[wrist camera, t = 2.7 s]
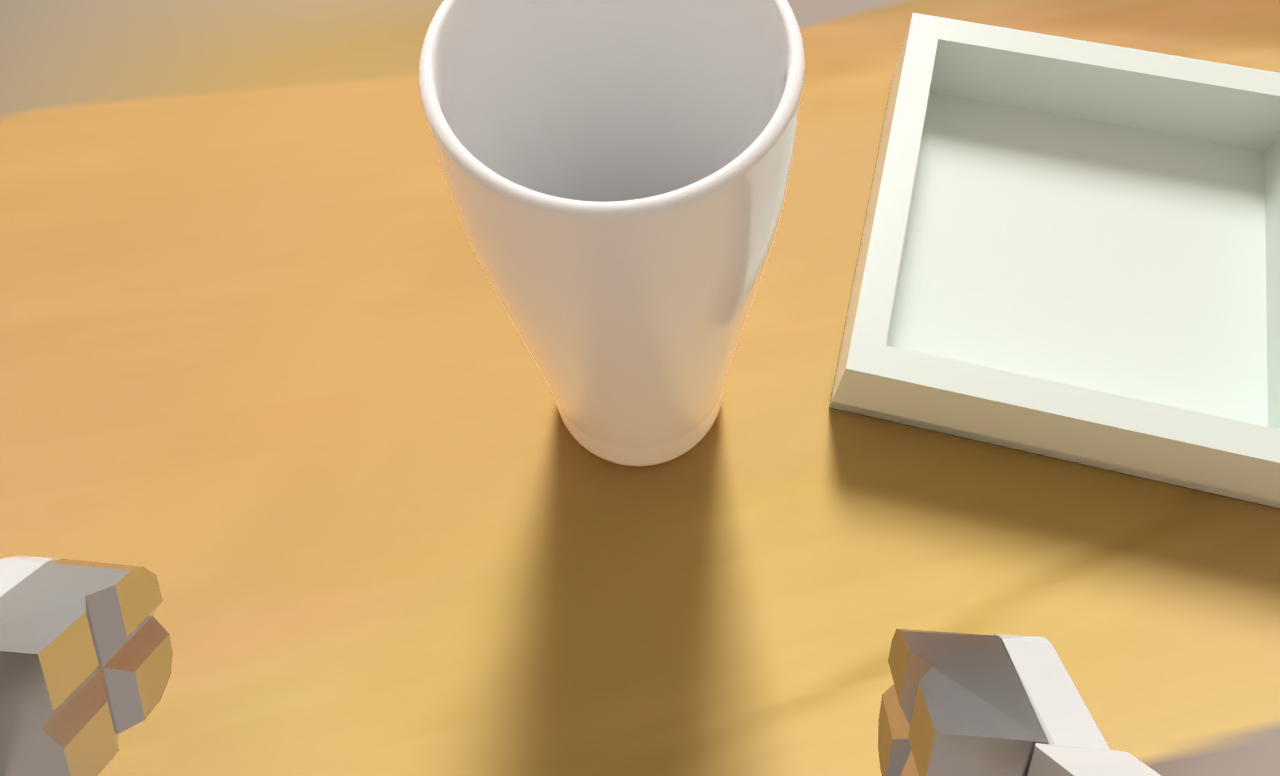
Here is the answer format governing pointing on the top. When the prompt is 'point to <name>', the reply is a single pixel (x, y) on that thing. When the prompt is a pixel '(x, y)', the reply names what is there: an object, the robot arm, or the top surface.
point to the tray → (1075, 257)
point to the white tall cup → (620, 191)
